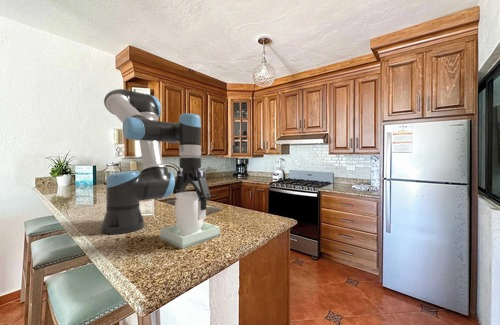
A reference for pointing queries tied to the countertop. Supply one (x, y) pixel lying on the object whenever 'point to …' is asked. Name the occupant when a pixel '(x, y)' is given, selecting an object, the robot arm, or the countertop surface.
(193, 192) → the jar
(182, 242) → the tray
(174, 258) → the countertop surface
